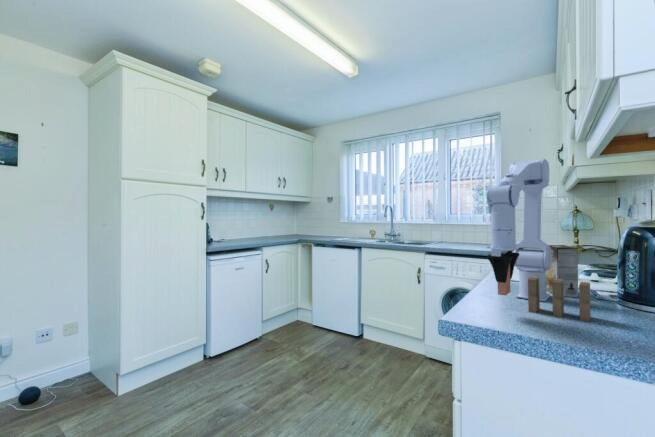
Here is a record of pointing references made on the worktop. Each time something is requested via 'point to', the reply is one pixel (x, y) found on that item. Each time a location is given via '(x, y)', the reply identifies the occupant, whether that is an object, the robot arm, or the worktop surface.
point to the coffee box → (564, 269)
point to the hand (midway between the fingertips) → (504, 280)
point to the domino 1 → (504, 285)
